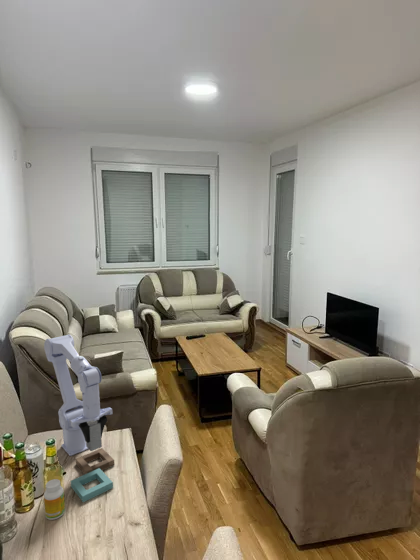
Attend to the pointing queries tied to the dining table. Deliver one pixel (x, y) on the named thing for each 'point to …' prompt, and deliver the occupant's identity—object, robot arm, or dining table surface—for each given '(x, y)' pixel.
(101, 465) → the socket block
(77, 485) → the teal square frame
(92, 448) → the peg
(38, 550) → the dining table surface
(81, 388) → the robot arm
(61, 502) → the supplement bottle
